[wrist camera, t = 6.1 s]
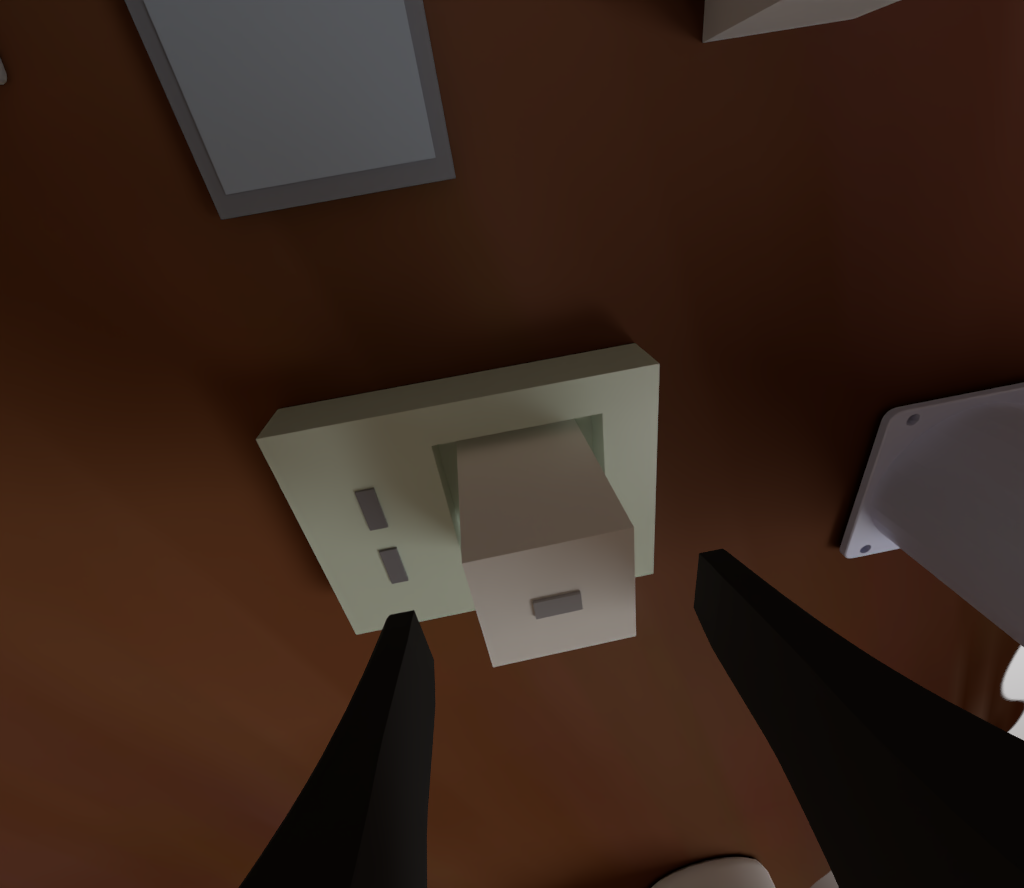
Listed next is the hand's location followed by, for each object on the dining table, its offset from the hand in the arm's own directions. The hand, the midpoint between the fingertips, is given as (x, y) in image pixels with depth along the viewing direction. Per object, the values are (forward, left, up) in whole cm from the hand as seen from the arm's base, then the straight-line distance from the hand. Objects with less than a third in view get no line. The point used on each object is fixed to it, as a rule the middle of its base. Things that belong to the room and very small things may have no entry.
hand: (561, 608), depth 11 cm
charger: (0, 0, -6) cm, 6 cm away
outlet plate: (+2, 0, -7) cm, 7 cm away
